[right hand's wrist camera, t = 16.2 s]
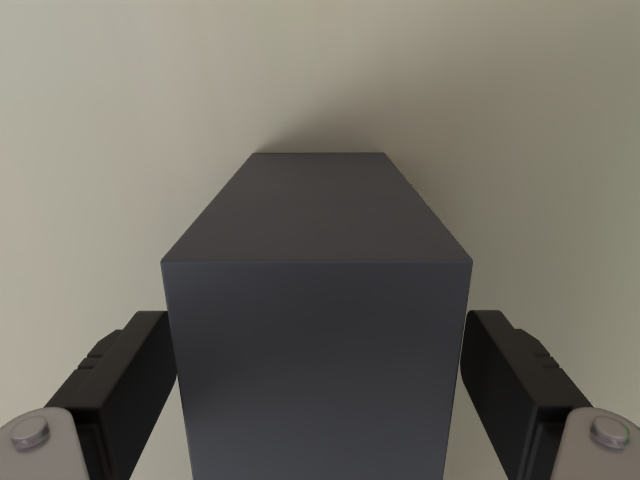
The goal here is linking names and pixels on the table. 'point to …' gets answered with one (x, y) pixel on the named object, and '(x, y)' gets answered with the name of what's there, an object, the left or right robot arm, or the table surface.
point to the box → (317, 323)
